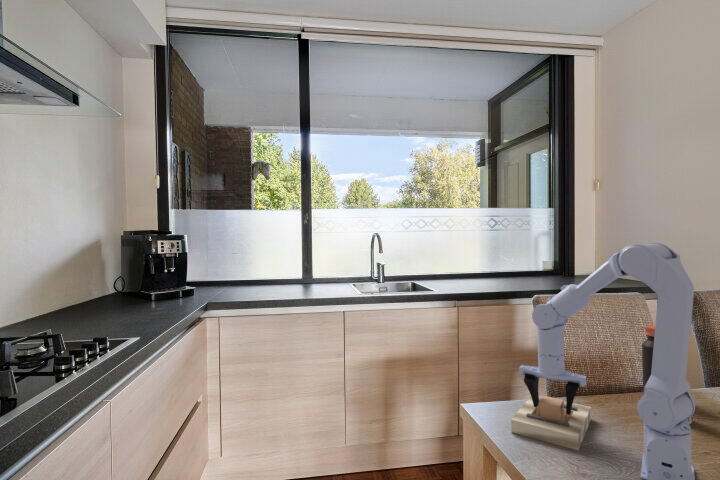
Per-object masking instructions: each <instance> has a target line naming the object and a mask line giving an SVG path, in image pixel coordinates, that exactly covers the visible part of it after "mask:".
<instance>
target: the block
mask: <svg viewBox="0 0 720 480" xmlns="http://www.w3.org/2000/svg"><path fill="white" fill-rule="evenodd" d="M542 397H543V398H542V399H541V401H540V415H539V416H542V417H546V418H550V419H554V420H559V421H563V422H565V421H564V401H565V400H564V399H562V398H556V397H552V396H547V395H543V396H542Z"/></svg>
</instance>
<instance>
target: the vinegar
mask: <svg viewBox="0 0 720 480" xmlns="http://www.w3.org/2000/svg"><path fill="white" fill-rule="evenodd" d="M645 336H646V340H645V341H643V342H642V343H641V359H642V360H641V361H642V362H641V363H642V369H641V370H642V395H643V394H644V388H645V385H646V383H647V381H648V380H649V378H650V376H651V370H652V359H653V348H654V336H655V325H646V326H645Z"/></svg>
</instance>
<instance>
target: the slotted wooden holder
mask: <svg viewBox="0 0 720 480" xmlns="http://www.w3.org/2000/svg"><path fill="white" fill-rule="evenodd" d="M542 398H543V396H540V395H539V405H538V406H537V407H534V405H533V401H532V397H531V395H530V396H529V398H528V399H526V401H525V402H524V403H523V404H522V405H521V407H520V408H519V409H518V411H516V413H515V414H514V415H513V417H512V418H511V420H510V422H511V423H510V425H511V426H510V427H511V428H510V430H511V432H510V433H513V434H516V435H517V434H518V435H520V436H524V437H528V438H530V439H534V440H538V441H541V442H546V443H550V444H553V445H557V446H561V447H564V448H568V449H571V450H575V451H579V450H580V447H581V445H582V444H583V440H584V438H585V436H586V434H587V430H588V428H589V425H590V423H591V421H592V406H587V405H583V404H579V403H574V402H573V404H572V410H571V414H570V415H568V414H566V403H567V401H565V400H564V422H563V421H559V420H554V419H550V418H546V417H542V416H540V401H541V399H542Z"/></svg>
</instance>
